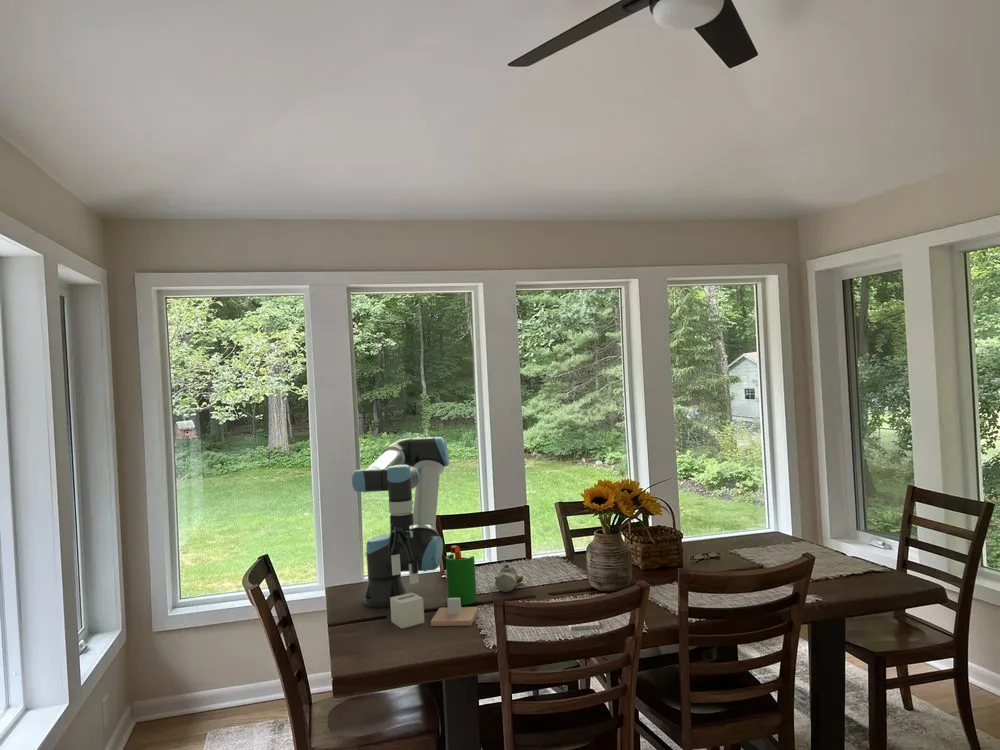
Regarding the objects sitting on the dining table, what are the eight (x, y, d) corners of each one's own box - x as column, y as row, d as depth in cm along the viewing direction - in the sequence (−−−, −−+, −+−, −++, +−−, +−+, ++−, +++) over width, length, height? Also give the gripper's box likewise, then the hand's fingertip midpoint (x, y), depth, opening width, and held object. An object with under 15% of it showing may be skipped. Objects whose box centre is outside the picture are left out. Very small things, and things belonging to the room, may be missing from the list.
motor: (479, 598, 252) (476, 541, 252) (470, 606, 244) (467, 548, 244) (453, 596, 256) (450, 541, 255) (443, 605, 247) (439, 547, 247)
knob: (401, 628, 226) (400, 602, 226) (391, 622, 233) (389, 596, 233) (424, 622, 230) (422, 597, 230) (413, 616, 237) (412, 591, 237)
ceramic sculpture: (488, 569, 257) (496, 560, 271) (489, 593, 256) (497, 583, 271) (518, 569, 255) (524, 560, 270) (519, 593, 254) (525, 583, 269)
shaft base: (430, 625, 227) (429, 605, 227) (439, 611, 240) (438, 592, 240) (471, 625, 225) (469, 604, 225) (478, 611, 238) (476, 591, 238)
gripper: (429, 516, 223) (433, 584, 223) (396, 506, 244) (399, 568, 244) (407, 520, 219) (411, 589, 219) (375, 510, 240) (379, 573, 240)
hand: (405, 578), depth 232 cm, fingers open, 13 cm apart
